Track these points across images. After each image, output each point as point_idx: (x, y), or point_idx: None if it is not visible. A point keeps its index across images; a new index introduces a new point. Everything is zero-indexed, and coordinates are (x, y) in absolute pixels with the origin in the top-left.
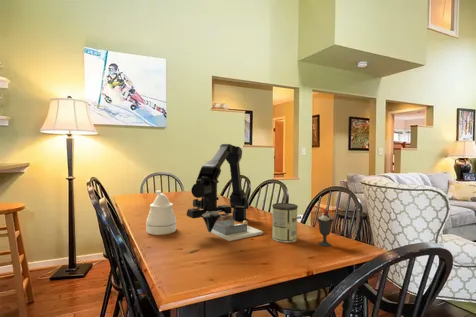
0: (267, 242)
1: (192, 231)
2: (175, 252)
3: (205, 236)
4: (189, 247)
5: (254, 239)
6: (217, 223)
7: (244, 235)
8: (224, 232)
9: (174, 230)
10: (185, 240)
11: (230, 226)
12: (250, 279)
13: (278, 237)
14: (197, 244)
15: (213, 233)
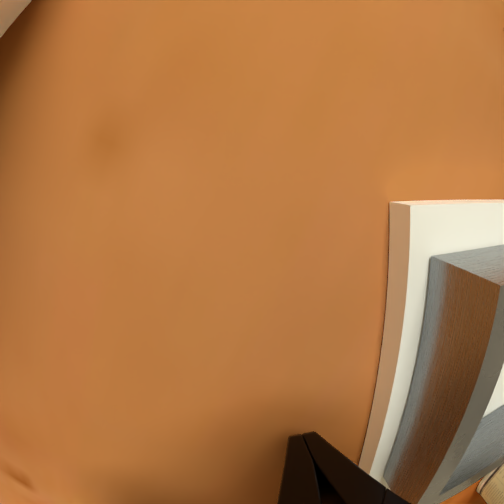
0: (452, 496)
1: (186, 74)
2: (8, 489)
3: (253, 376)
4: (64, 493)
5: None
6: (497, 371)
7: None
8: (394, 479)
9: (3, 21)
10: (27, 388)
11: (467, 481)
12: None
13: (484, 495)
14: (115, 490)
15: (386, 321)
